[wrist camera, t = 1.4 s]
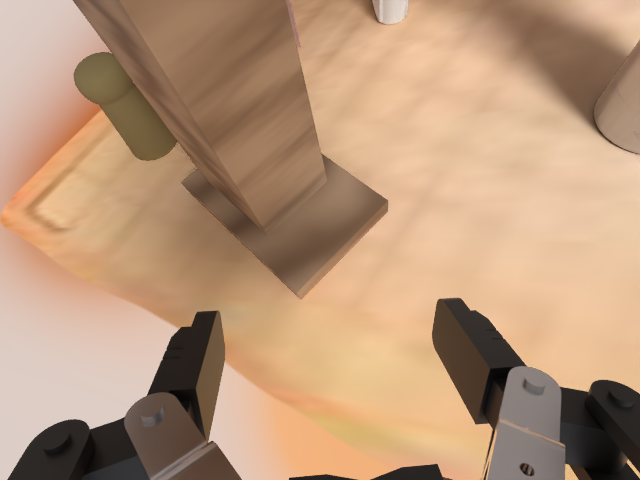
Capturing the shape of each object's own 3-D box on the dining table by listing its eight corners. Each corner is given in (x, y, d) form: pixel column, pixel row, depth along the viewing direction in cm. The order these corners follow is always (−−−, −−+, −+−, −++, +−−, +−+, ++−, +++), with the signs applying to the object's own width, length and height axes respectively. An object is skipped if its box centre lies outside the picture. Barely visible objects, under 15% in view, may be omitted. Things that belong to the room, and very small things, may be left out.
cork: (187, 127, 45) (133, 46, 35) (161, 165, 43) (95, 92, 33) (149, 117, 47) (87, 38, 37) (122, 154, 45) (49, 80, 35)
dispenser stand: (190, 192, 40) (-350, -434, 11) (269, 125, 43) (13, -535, 13) (300, 299, 33) (-403, -709, 3) (387, 211, 36) (422, -814, 6)
